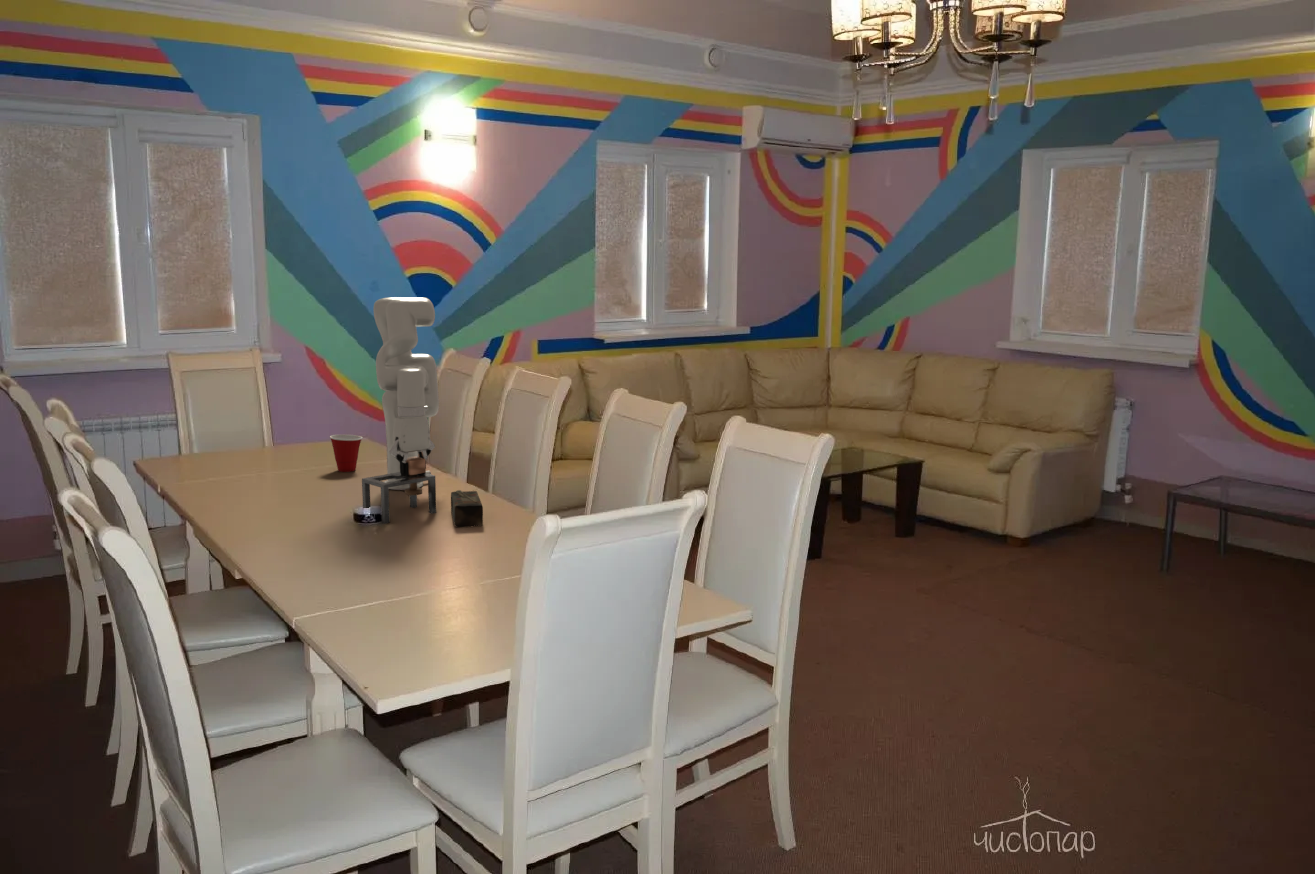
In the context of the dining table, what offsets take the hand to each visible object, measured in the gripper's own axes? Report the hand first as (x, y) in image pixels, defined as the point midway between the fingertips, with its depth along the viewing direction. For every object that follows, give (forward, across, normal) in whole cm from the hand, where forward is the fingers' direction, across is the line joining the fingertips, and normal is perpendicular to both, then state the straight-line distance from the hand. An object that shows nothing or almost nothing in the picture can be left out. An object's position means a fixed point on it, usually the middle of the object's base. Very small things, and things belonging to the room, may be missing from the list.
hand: (413, 473), depth 291 cm
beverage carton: (+12, -6, +16) cm, 21 cm away
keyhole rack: (+11, +5, 0) cm, 12 cm away
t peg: (+6, 0, 0) cm, 6 cm away
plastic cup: (+12, -16, -63) cm, 66 cm away
